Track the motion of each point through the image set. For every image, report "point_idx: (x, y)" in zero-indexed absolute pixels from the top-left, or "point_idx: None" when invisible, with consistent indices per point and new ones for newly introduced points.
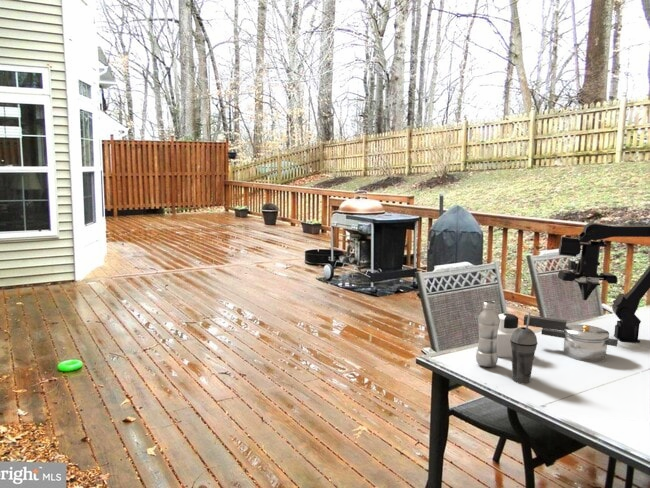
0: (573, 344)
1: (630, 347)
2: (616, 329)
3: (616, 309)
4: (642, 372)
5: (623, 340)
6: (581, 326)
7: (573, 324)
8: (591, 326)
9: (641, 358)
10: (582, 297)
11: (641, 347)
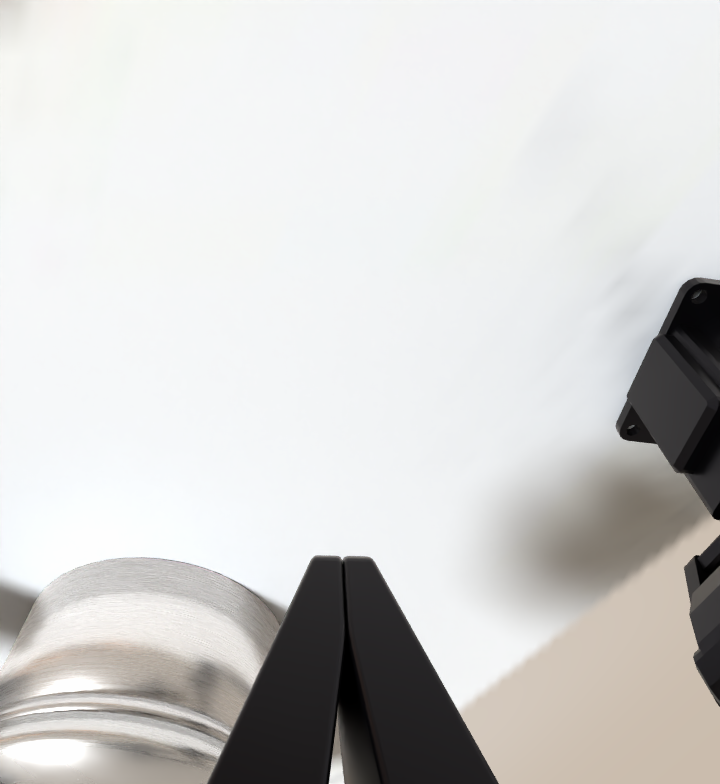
0: None
1: (582, 532)
2: (671, 416)
3: (716, 698)
4: None
5: (637, 440)
6: (94, 780)
7: (30, 750)
8: (190, 778)
9: (494, 669)
10: (292, 608)
11: (669, 530)
